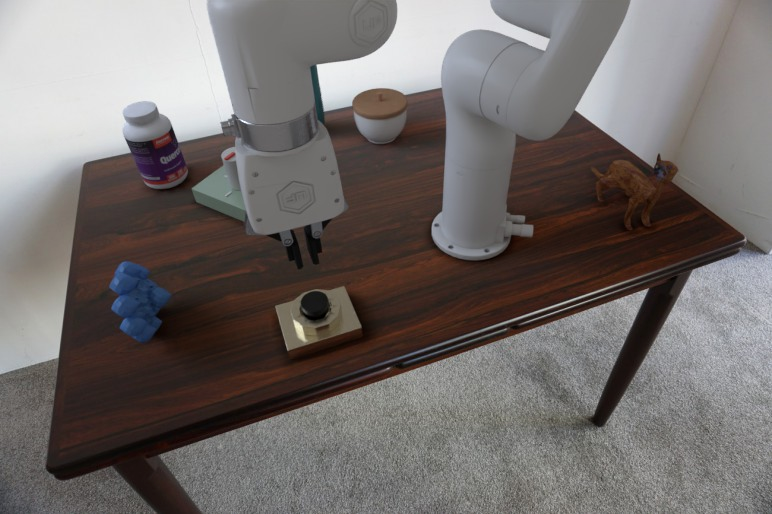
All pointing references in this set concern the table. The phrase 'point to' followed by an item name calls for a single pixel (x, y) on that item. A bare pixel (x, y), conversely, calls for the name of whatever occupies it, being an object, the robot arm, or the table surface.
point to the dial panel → (220, 195)
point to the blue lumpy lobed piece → (137, 301)
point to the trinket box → (380, 114)
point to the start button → (315, 305)
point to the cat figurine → (636, 185)
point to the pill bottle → (154, 145)
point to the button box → (318, 324)
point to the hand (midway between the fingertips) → (305, 258)
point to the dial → (231, 167)
